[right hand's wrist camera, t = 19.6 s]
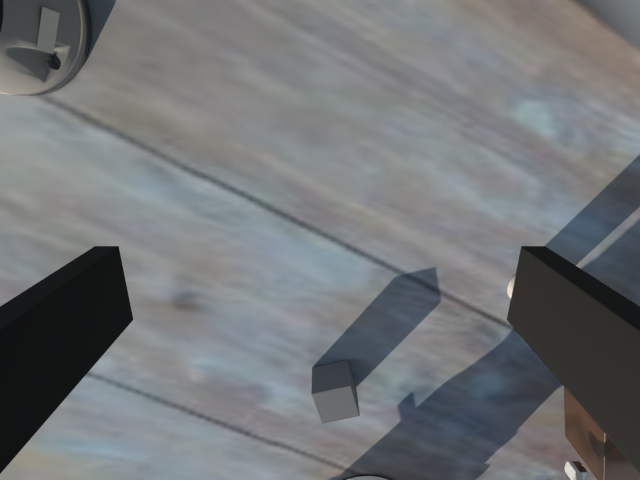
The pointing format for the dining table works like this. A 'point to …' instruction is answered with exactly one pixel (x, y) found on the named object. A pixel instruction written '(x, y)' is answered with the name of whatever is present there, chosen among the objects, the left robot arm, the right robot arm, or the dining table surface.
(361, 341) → the dining table surface
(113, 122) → the dining table surface
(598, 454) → the walnut plank
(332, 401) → the grey rubber block
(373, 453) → the dining table surface
